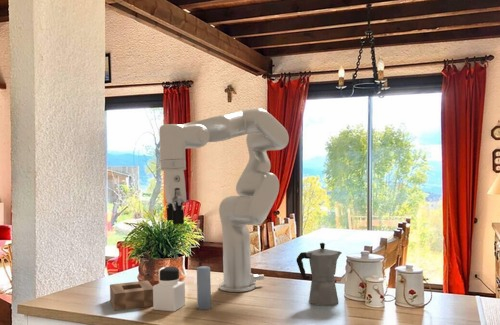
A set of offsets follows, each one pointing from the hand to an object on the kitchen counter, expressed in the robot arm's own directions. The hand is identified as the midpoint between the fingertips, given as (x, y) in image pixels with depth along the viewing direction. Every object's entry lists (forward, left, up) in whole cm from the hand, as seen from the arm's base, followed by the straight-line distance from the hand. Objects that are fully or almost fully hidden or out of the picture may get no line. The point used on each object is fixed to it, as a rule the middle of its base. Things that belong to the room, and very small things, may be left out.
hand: (175, 221), depth 144 cm
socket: (+12, -10, -26) cm, 30 cm away
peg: (-7, +5, -26) cm, 27 cm away
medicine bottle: (+2, 0, -26) cm, 26 cm away
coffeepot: (-41, +15, -26) cm, 51 cm away
